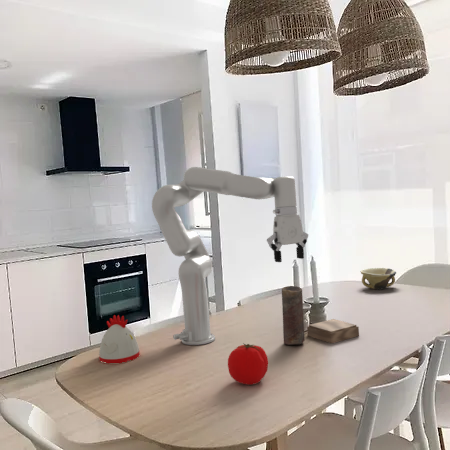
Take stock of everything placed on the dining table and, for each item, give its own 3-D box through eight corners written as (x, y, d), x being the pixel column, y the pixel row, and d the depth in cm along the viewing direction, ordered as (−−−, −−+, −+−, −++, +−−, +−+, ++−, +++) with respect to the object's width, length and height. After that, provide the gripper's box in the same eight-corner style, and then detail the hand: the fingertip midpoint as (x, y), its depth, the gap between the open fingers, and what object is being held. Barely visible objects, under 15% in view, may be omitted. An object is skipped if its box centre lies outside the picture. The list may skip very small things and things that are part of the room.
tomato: (239, 393, 134) (236, 352, 133) (222, 379, 144) (220, 342, 144) (277, 383, 139) (274, 344, 138) (258, 371, 149) (256, 335, 148)
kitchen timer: (126, 365, 164) (122, 320, 163) (91, 363, 169) (87, 320, 168) (146, 351, 177) (143, 310, 176) (114, 350, 182) (110, 310, 181)
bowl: (363, 292, 248) (362, 273, 247) (359, 285, 265) (358, 268, 265) (399, 291, 245) (398, 272, 244) (393, 284, 262) (392, 266, 262)
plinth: (331, 343, 170) (330, 332, 170) (307, 335, 182) (306, 324, 182) (359, 335, 177) (358, 324, 177) (334, 328, 188) (333, 318, 188)
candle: (304, 340, 176) (301, 285, 175) (306, 346, 169) (302, 289, 168) (283, 341, 177) (279, 286, 176) (284, 347, 170) (280, 290, 169)
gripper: (271, 213, 165) (275, 264, 166) (312, 209, 173) (315, 257, 174) (259, 213, 172) (263, 262, 173) (299, 210, 180) (302, 256, 181)
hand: (289, 260), depth 173 cm, fingers open, 9 cm apart
